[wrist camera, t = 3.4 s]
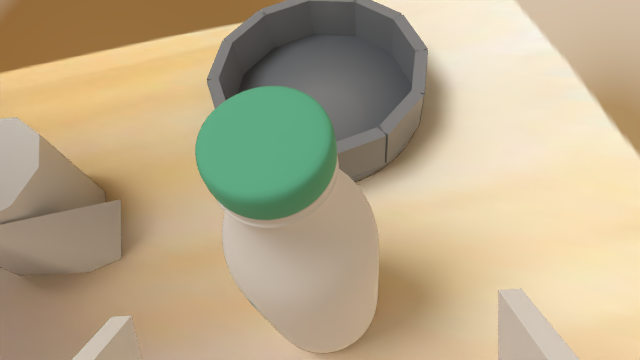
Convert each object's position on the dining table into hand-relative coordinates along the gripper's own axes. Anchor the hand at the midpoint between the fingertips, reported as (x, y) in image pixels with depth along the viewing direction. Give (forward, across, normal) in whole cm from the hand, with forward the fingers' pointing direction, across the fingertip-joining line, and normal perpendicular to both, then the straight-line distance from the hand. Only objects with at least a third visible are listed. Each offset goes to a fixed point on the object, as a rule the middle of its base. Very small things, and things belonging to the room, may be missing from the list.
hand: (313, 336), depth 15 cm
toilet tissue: (+20, -22, -2) cm, 30 cm away
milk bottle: (+14, -1, -7) cm, 16 cm away
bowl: (+27, 0, +6) cm, 28 cm away
